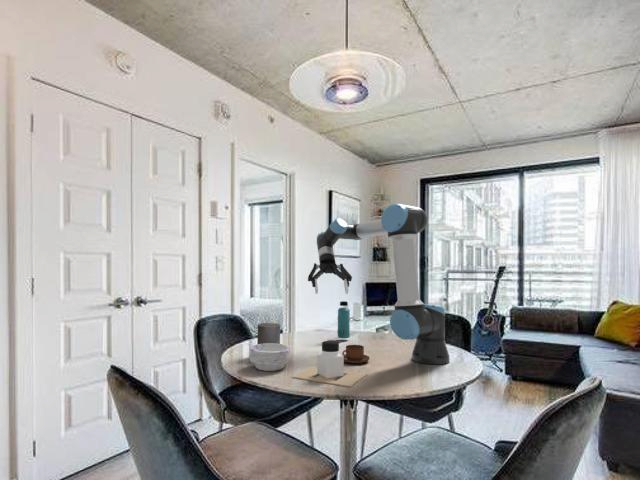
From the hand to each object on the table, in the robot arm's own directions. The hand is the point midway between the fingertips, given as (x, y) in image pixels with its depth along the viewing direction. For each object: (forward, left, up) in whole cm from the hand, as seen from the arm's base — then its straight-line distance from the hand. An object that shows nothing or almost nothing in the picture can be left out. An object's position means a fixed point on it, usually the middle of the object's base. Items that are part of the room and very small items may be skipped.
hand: (332, 291), depth 174 cm
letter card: (-13, +30, -27) cm, 42 cm away
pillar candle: (+22, +17, -27) cm, 39 cm away
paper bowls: (+12, +31, -28) cm, 43 cm away
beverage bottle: (+8, -31, -27) cm, 42 cm away
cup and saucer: (-13, +6, -28) cm, 31 cm away
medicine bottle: (-13, +30, -27) cm, 42 cm away
